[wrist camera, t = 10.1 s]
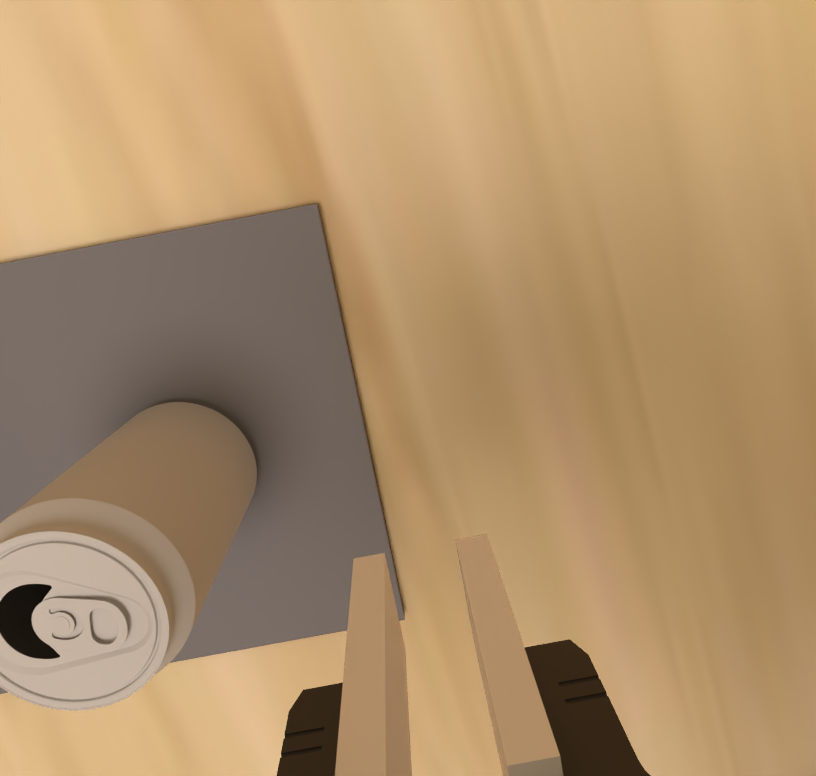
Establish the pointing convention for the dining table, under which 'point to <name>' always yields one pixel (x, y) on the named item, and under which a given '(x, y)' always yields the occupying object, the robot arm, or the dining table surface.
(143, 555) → the beverage can
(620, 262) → the dining table surface
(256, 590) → the mount
